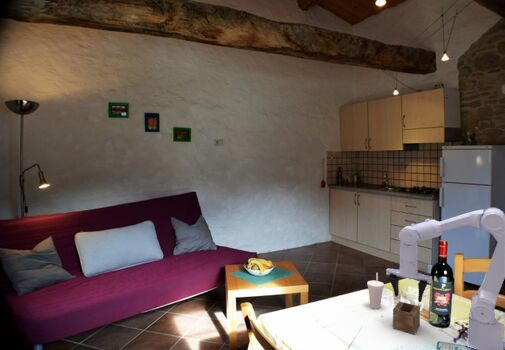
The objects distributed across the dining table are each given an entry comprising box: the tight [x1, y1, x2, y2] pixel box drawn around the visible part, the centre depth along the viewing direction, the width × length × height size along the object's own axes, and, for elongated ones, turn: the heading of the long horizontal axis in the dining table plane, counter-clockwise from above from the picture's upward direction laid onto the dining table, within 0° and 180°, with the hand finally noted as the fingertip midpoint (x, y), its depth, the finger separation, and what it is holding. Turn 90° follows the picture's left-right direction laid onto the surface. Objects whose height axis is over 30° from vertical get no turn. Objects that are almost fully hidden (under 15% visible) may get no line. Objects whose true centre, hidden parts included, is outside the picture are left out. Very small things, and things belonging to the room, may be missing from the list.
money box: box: [392, 301, 421, 335], centre depth 119 cm, size 7×8×7 cm
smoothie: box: [366, 272, 385, 310], centre depth 135 cm, size 6×6×14 cm
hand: (408, 298), depth 119 cm, fingers open, 7 cm apart
